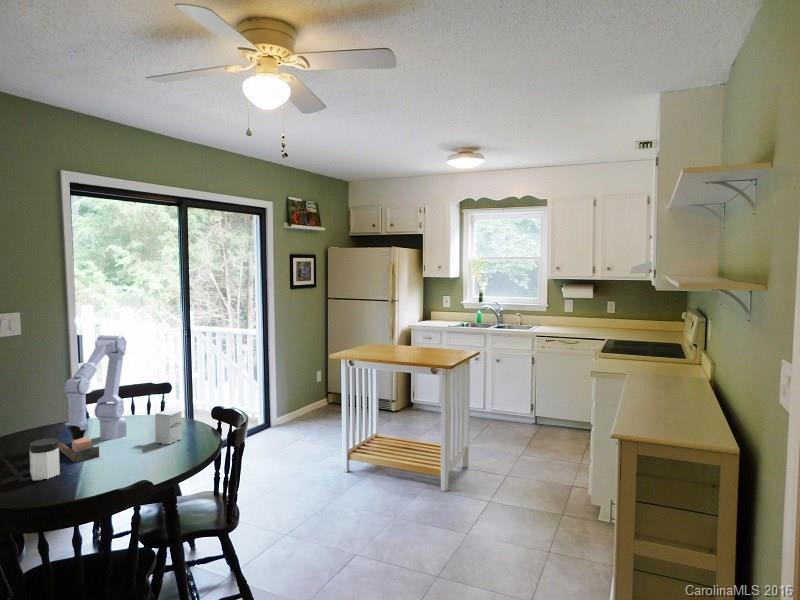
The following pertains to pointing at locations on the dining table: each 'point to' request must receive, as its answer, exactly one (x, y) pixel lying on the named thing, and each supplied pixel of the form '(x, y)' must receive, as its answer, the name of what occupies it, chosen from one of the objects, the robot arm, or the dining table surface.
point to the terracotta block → (81, 444)
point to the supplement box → (168, 426)
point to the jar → (44, 459)
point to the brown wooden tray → (79, 453)
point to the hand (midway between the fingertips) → (78, 444)
